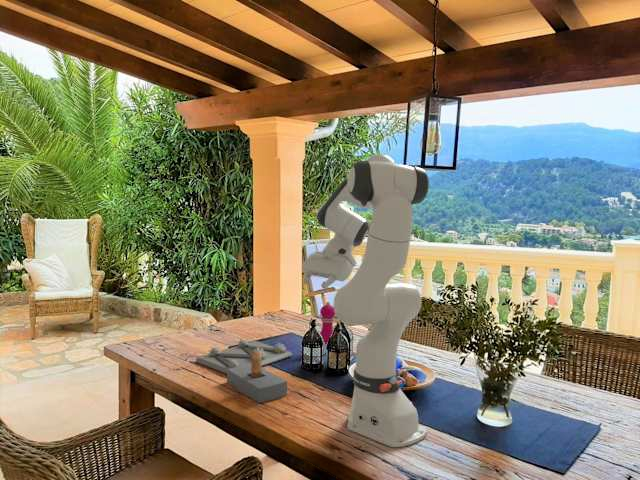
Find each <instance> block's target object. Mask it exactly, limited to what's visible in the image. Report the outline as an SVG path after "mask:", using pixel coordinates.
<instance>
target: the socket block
mask: <svg viewBox="0 0 640 480" xmlns="http://www.w3.org/2000/svg"><path fill="white" fill-rule="evenodd" d="M251 366H252V364H248V365H243V366H239V367H234V368H230V369H227V374H226V379H227V380H226V383H227V384H229V385H230V386H232V387H233V388H235V389H236V390H238V391H240V392H242V393H243V394H244V395H246V396H247V397H248V398H250V399H252V400H254V401H255V402H256V403H258V404H261V403H265V402H269V401H273V400H276V399H280V398H284V397H286V396H288V381H287V380H285V379H283V378H281V377H280V376H278V375H276V374H274V373H272V372H271V371H269V370H267V369H265V368H264V367H262V375H261V377H259V378H255V379H253V378H252V377H251Z"/></svg>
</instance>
